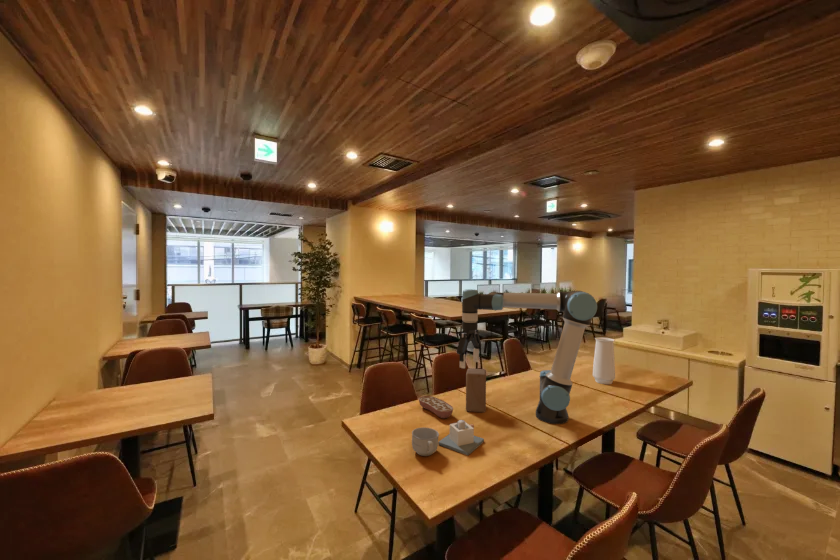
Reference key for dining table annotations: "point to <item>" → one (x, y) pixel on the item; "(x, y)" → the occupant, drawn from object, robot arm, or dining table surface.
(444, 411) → the anatomical model
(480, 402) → the wooden block
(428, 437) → the teacup
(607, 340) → the vase
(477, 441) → the board
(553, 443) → the dining table surface
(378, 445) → the dining table surface
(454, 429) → the white square sleeve
